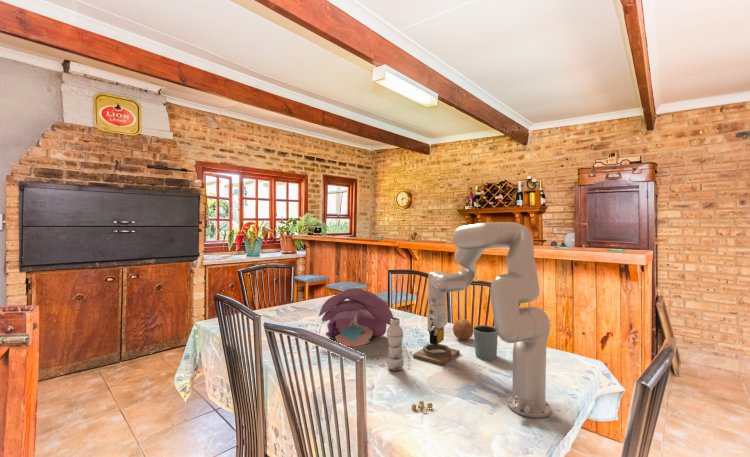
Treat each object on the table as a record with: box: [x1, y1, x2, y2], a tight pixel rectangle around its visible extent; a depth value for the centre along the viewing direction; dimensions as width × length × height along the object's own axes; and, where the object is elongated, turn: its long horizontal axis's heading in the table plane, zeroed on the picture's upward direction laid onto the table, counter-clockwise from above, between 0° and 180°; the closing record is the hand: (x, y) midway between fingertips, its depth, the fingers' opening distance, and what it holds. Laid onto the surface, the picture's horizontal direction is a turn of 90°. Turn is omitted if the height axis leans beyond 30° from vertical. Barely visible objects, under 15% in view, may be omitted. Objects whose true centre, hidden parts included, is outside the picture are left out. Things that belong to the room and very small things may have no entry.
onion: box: [452, 318, 474, 341], centre depth 171 cm, size 10×10×10 cm
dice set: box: [411, 400, 433, 414], centre depth 109 cm, size 5×5×2 cm
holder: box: [412, 343, 461, 367], centre depth 151 cm, size 16×14×3 cm
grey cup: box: [473, 325, 499, 361], centre depth 150 cm, size 10×10×12 cm
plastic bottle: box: [386, 317, 404, 372], centre depth 137 cm, size 6×7×20 cm
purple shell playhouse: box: [318, 287, 395, 347], centre depth 172 cm, size 35×24×28 cm
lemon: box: [432, 326, 444, 344], centre depth 151 cm, size 6×6×8 cm
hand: (436, 341), depth 151 cm, fingers closed on lemon, 5 cm apart
